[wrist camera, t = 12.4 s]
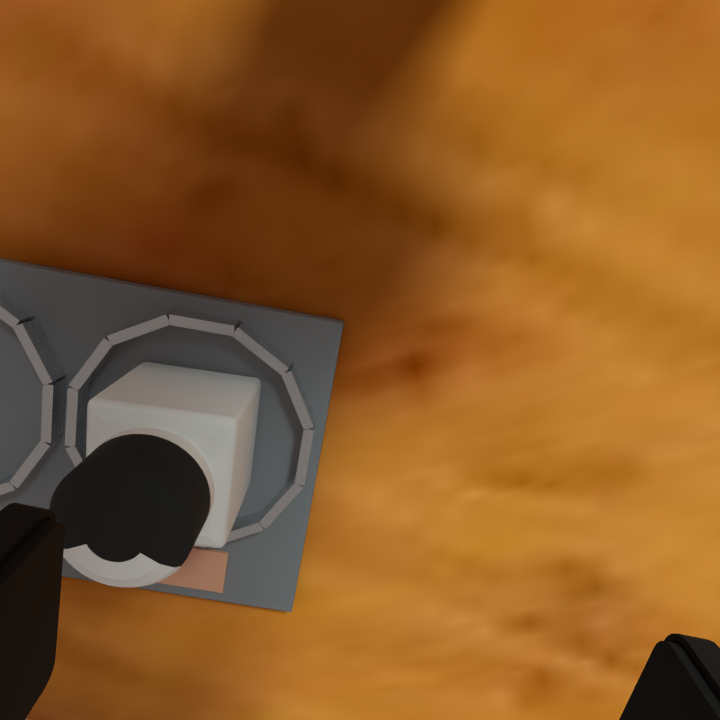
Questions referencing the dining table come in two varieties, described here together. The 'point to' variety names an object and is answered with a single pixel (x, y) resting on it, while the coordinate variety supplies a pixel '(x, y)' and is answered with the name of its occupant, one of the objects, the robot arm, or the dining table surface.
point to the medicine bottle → (158, 472)
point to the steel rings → (80, 385)
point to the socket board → (184, 349)
